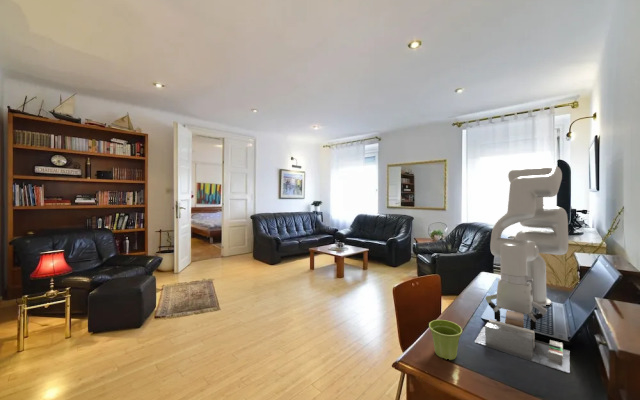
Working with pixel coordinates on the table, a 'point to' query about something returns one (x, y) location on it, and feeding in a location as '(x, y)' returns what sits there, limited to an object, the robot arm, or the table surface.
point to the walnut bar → (515, 318)
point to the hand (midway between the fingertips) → (514, 326)
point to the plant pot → (445, 338)
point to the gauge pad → (521, 331)
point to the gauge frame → (524, 346)
